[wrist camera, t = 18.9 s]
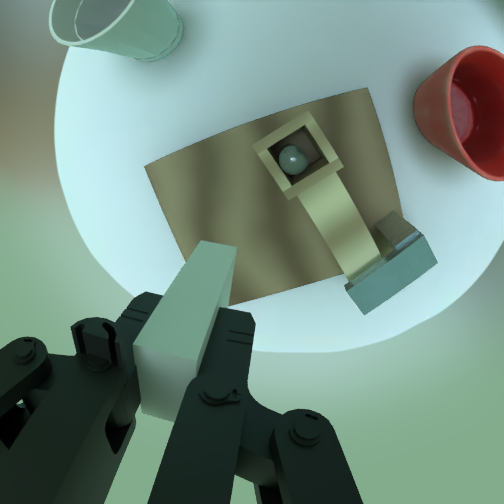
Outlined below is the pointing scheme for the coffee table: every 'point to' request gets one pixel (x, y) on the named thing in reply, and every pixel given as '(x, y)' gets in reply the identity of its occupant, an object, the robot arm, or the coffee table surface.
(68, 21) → the cup
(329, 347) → the coffee table surface
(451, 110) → the flower pot
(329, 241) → the link
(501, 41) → the coffee table surface
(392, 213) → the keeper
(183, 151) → the board
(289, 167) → the pin
